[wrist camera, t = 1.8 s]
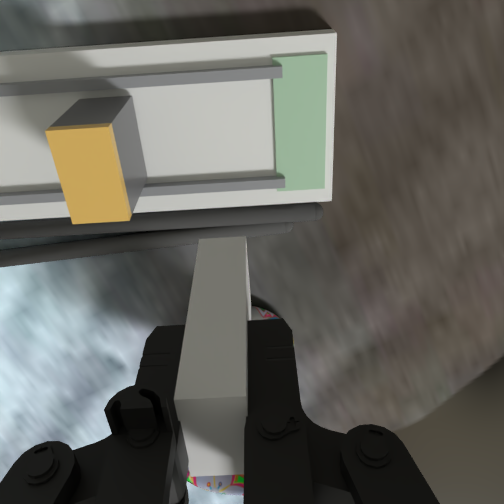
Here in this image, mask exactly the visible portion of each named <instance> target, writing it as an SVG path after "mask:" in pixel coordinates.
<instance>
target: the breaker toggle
mask: <svg viewBox="0 0 504 504" xmlns="http://www.w3.org/2000/svg"><path fill="white" fill-rule="evenodd" d="M45 133H46V137H47V140H48V143H49V147H50V150H51V153H52V157H53V160H54V163H55V167H56V170H57V174H58V177H59V180H60V184H61V187H62V190H63V194H64V197H65V200H66V204H67V207H68V210H69V214H70V217H71V220H72V224H85V223H102V222H118V221H130V218H131V216H132V214H133V211H134V209H135V206H136V204H137V202H138V199H139V197H140V195H141V192H142V190H143V187H144V185H145V183H146V180H147V178H148V177H147V171H146V166H145V161H144V156H143V150H142V145H141V140H140V135H139V130H138V124H137V119H136V114H135V109H134V103H133V98H132V96H117V97H102V98H87V99H79V100H78V101H77V102H76V103H75V104H73V105H72V106H71V107H70V108H69V109H68V110H67V111H66V112H65V113H64V114H63V115H62V116H60V117H59V118H58V119H57V120H56V121H55V122H54V123H53V124H52V125H51V126H50V127H49V128H48V129H46V130H45Z"/></svg>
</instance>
